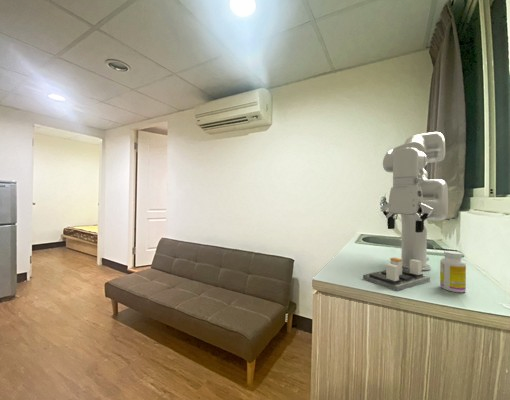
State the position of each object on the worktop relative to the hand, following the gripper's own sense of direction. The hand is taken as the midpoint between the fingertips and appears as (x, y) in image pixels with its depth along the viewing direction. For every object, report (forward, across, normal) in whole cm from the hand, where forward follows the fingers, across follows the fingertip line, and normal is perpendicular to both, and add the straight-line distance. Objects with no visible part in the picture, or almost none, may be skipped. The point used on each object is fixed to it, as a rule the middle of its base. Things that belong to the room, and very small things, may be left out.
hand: (404, 230), depth 81 cm
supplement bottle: (+20, -10, -12) cm, 25 cm away
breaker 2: (+17, +2, -10) cm, 20 cm away
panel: (+20, +4, -2) cm, 20 cm away
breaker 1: (+17, +1, +5) cm, 18 cm away
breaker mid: (+17, +4, -2) cm, 18 cm away
